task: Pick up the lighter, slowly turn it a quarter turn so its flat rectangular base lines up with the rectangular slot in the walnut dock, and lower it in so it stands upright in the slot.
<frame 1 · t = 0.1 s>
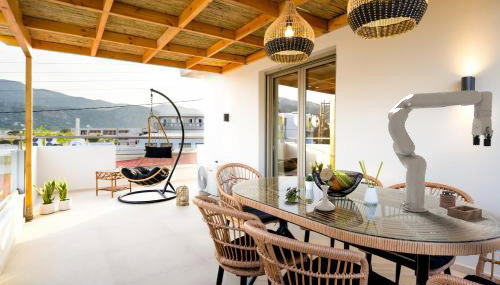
hand: (481, 145, 154), 37 cm above the table, tool pointing down, fingers open, 9 cm apart
flower in vase: (325, 210, 162), on the table
passion flower: (293, 201, 182), on the table
lighter dock: (464, 215, 150), on the table
lighter: (447, 207, 166), on the table
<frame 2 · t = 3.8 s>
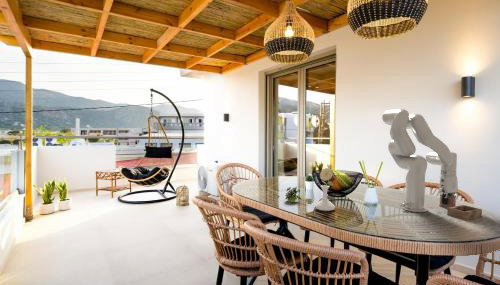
hand: (447, 203, 166), 2 cm above the table, tool pointing down, fingers closed on lighter, 4 cm apart
lighter: (447, 207, 166), on the table, touching gripper
everything else where it was.
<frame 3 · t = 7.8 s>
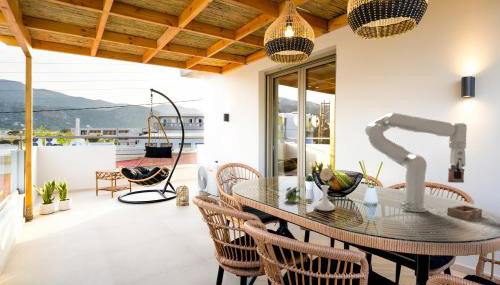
hand: (456, 177, 157), 19 cm above the table, tool pointing down, fingers closed on lighter, 4 cm apart
lighter: (455, 182, 157), point 17 cm above the table, touching gripper
everything else where it was.
when the fingers open (5 cm above the table, at t = 11.8 s): lighter drops 1 cm, resting on lighter dock.
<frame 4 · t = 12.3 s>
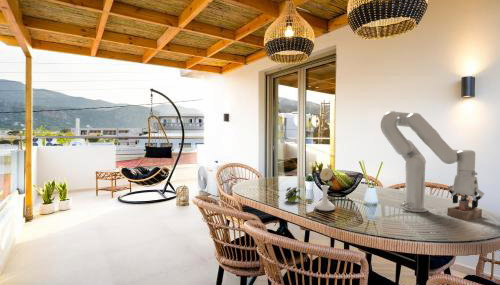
hand: (464, 205, 150), 6 cm above the table, tool pointing down, fingers open, 9 cm apart
lighter: (463, 214, 150), point 1 cm above the table, touching lighter dock
everything else where it was.
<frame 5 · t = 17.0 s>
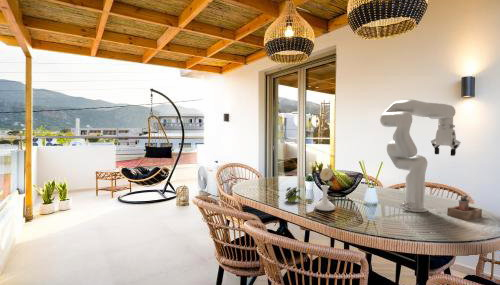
hand: (444, 154, 173), 30 cm above the table, tool pointing down, fingers open, 9 cm apart
nothing on the table moved.
at the end: lighter 0.4 cm off-centre on the lighter dock, point 0.8 cm above the lighter dock's base; lighter tilted 0°; the gripper is holding nothing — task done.
